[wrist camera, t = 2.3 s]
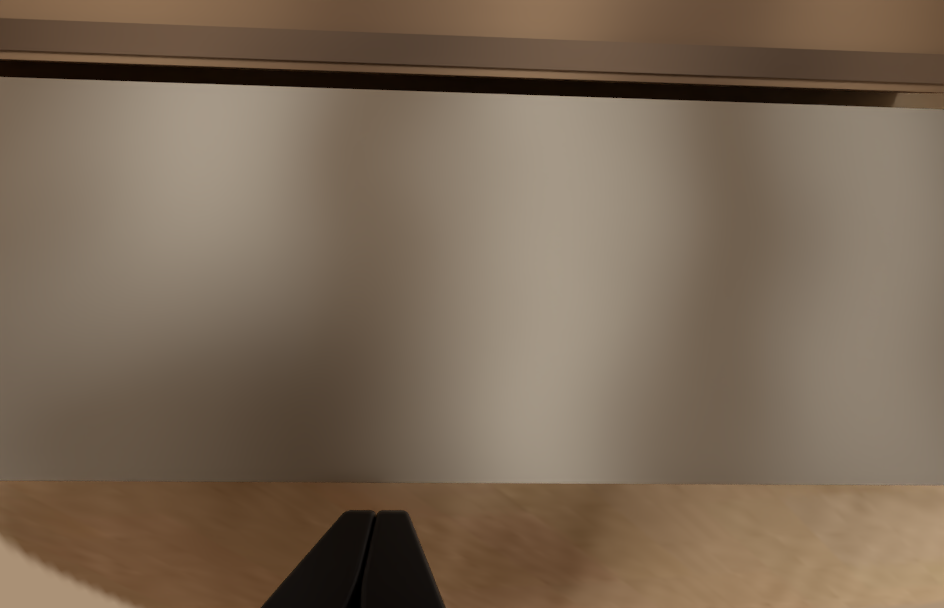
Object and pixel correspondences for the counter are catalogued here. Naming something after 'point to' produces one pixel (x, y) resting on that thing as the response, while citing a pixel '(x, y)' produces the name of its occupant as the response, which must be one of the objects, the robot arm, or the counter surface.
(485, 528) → the counter surface
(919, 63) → the walnut plank
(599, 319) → the grey plank
